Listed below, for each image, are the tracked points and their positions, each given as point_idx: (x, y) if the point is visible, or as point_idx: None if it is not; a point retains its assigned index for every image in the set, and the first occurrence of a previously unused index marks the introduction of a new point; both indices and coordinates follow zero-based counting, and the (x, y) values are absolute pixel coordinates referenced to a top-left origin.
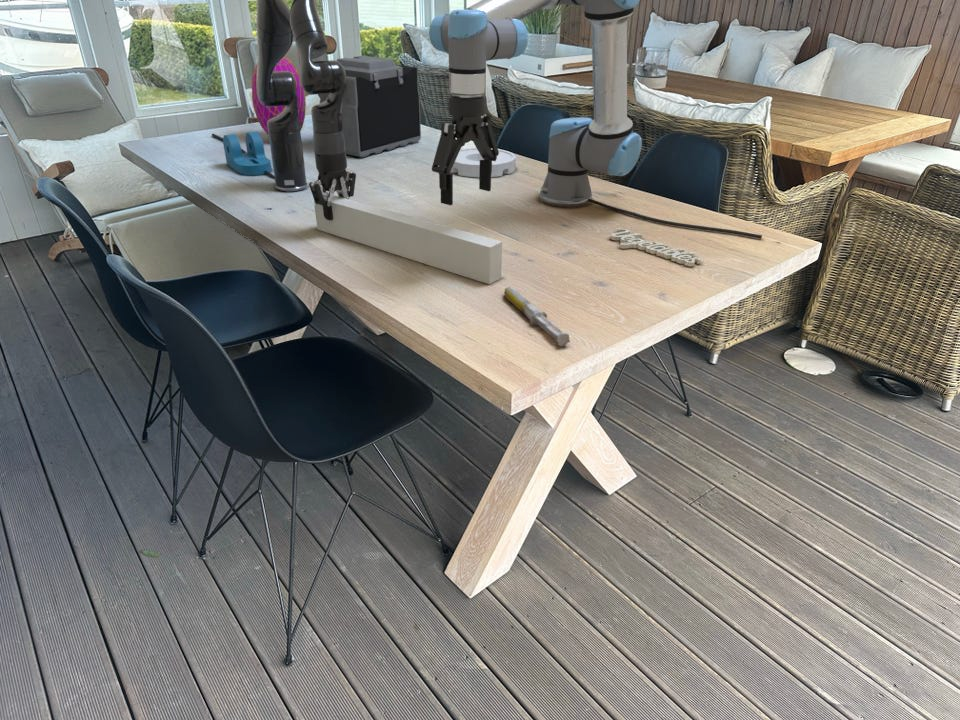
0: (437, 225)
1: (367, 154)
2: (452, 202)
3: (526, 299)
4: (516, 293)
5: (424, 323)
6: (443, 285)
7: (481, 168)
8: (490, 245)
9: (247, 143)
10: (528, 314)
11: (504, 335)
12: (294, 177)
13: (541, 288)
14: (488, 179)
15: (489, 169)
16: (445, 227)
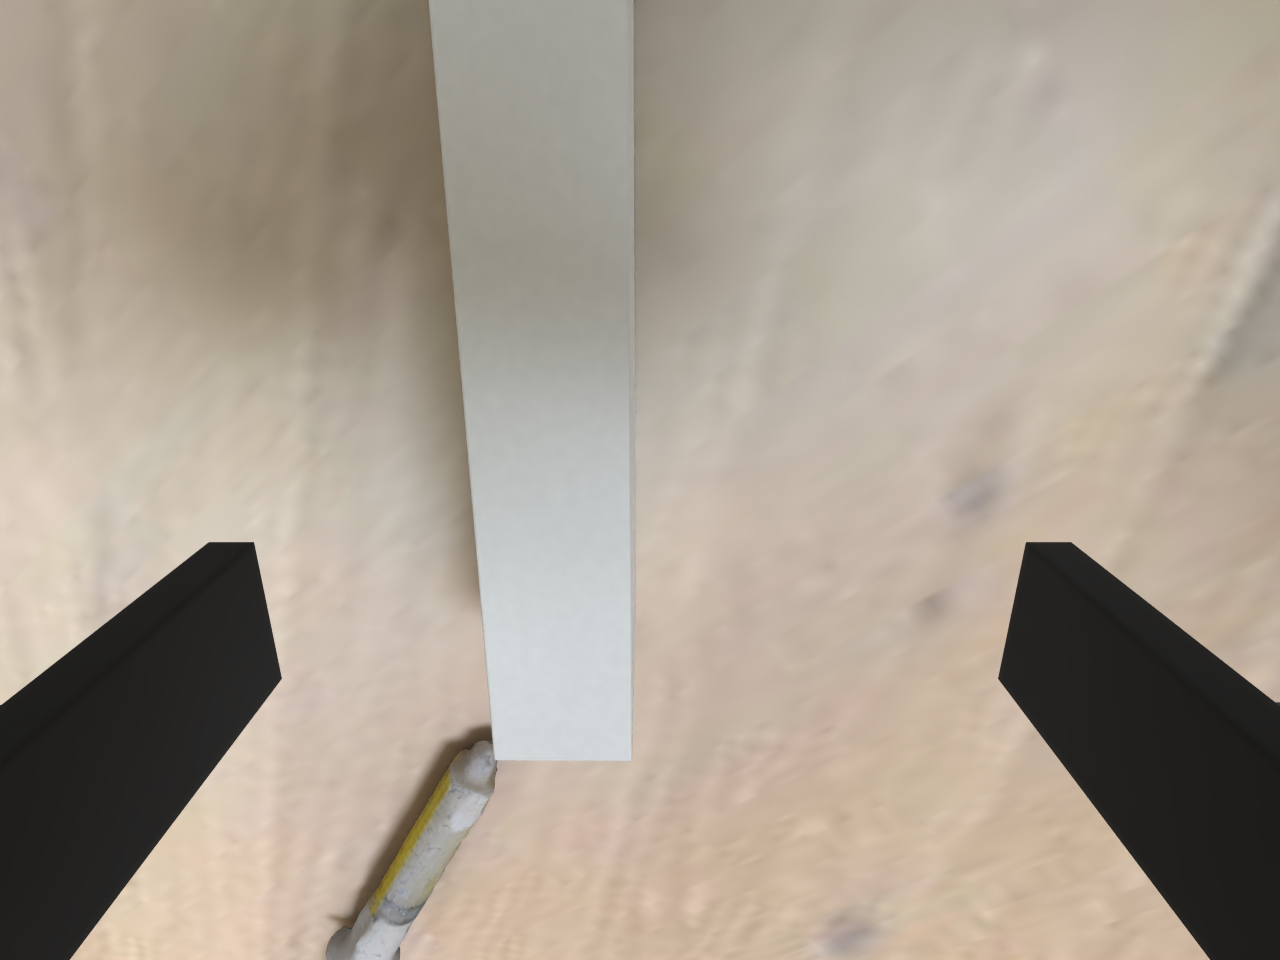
0: (587, 168)
1: None
2: (263, 696)
3: (425, 891)
4: (429, 850)
5: (20, 634)
6: (358, 449)
7: (1235, 774)
8: (522, 745)
9: None
10: (355, 924)
11: (218, 890)
12: None
13: (658, 800)
14: (1084, 780)
15: (1192, 933)
16: (594, 268)
